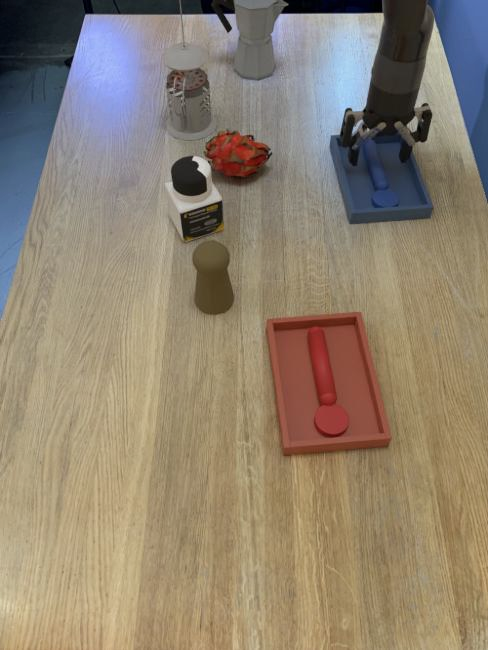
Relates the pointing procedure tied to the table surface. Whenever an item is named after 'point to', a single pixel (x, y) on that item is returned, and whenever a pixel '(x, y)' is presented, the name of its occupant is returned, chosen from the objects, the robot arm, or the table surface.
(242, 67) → the coffee maker
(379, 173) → the blue spoon
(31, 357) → the table surface
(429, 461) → the table surface
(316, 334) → the red spoon
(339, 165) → the blue tray
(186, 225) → the medicine bottle
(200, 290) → the cork
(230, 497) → the table surface
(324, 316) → the red tray
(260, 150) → the dragon fruit
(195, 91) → the french press
